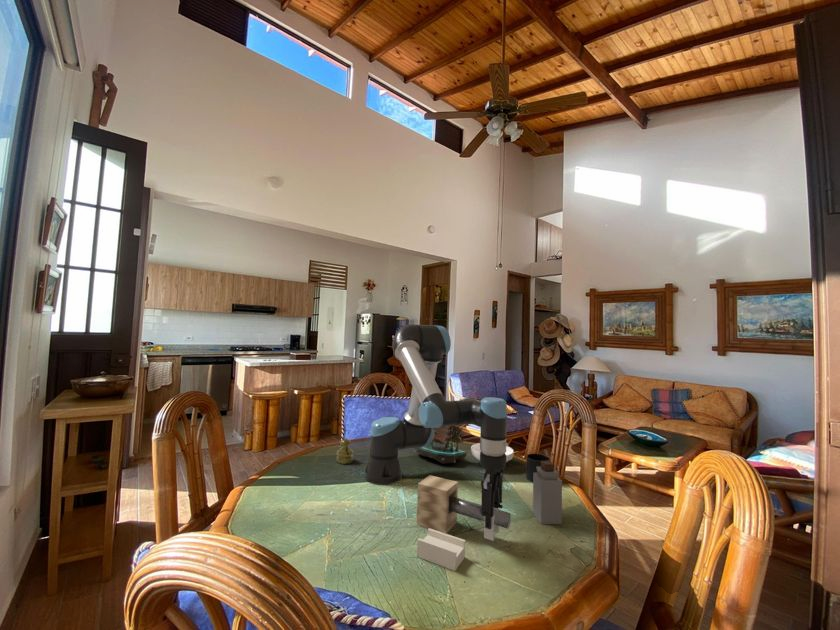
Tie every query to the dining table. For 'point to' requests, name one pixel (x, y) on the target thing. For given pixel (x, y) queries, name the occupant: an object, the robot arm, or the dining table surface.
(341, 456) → the olive ridged vase
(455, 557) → the cradle
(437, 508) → the brown wooden block
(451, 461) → the diorama
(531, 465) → the mug
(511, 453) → the bowl
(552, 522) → the perfume bottle
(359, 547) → the dining table surface
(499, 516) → the axle
